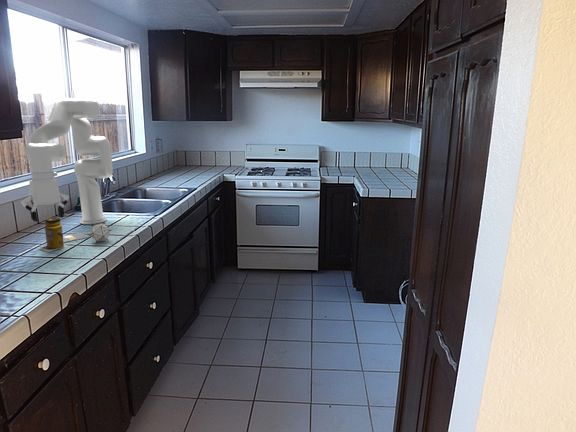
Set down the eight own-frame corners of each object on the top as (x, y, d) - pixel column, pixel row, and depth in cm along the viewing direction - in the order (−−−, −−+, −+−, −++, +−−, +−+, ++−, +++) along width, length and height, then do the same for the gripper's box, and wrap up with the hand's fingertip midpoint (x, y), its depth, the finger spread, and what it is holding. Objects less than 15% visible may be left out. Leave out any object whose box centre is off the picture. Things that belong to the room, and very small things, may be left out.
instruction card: (48, 239, 184) (48, 238, 184) (81, 232, 195) (81, 232, 194) (57, 244, 178) (57, 243, 178) (90, 237, 188) (90, 236, 188)
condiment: (68, 246, 175) (65, 218, 172) (49, 252, 168) (45, 223, 165) (57, 243, 178) (54, 215, 175) (37, 248, 171) (34, 220, 168)
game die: (105, 250, 182) (107, 235, 175) (84, 244, 180) (86, 229, 173) (112, 235, 188) (115, 220, 182) (92, 229, 186) (94, 214, 180)
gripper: (62, 173, 175) (67, 214, 178) (14, 178, 162) (21, 221, 166) (69, 175, 170) (74, 216, 173) (21, 179, 157) (27, 224, 161)
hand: (48, 219), depth 170 cm, fingers open, 9 cm apart
